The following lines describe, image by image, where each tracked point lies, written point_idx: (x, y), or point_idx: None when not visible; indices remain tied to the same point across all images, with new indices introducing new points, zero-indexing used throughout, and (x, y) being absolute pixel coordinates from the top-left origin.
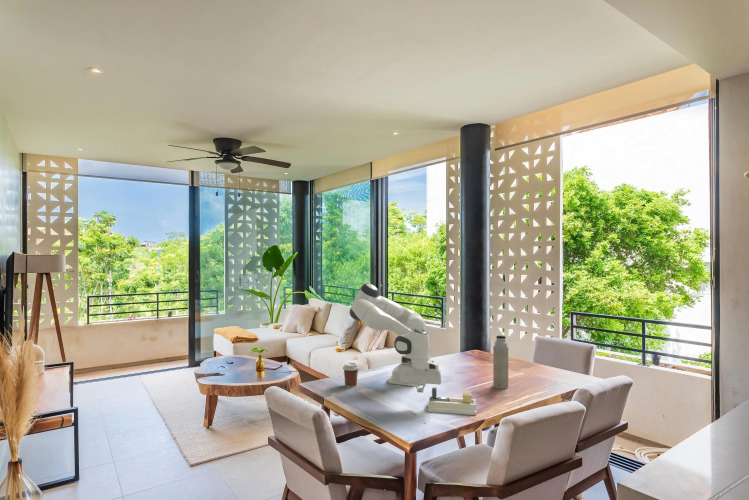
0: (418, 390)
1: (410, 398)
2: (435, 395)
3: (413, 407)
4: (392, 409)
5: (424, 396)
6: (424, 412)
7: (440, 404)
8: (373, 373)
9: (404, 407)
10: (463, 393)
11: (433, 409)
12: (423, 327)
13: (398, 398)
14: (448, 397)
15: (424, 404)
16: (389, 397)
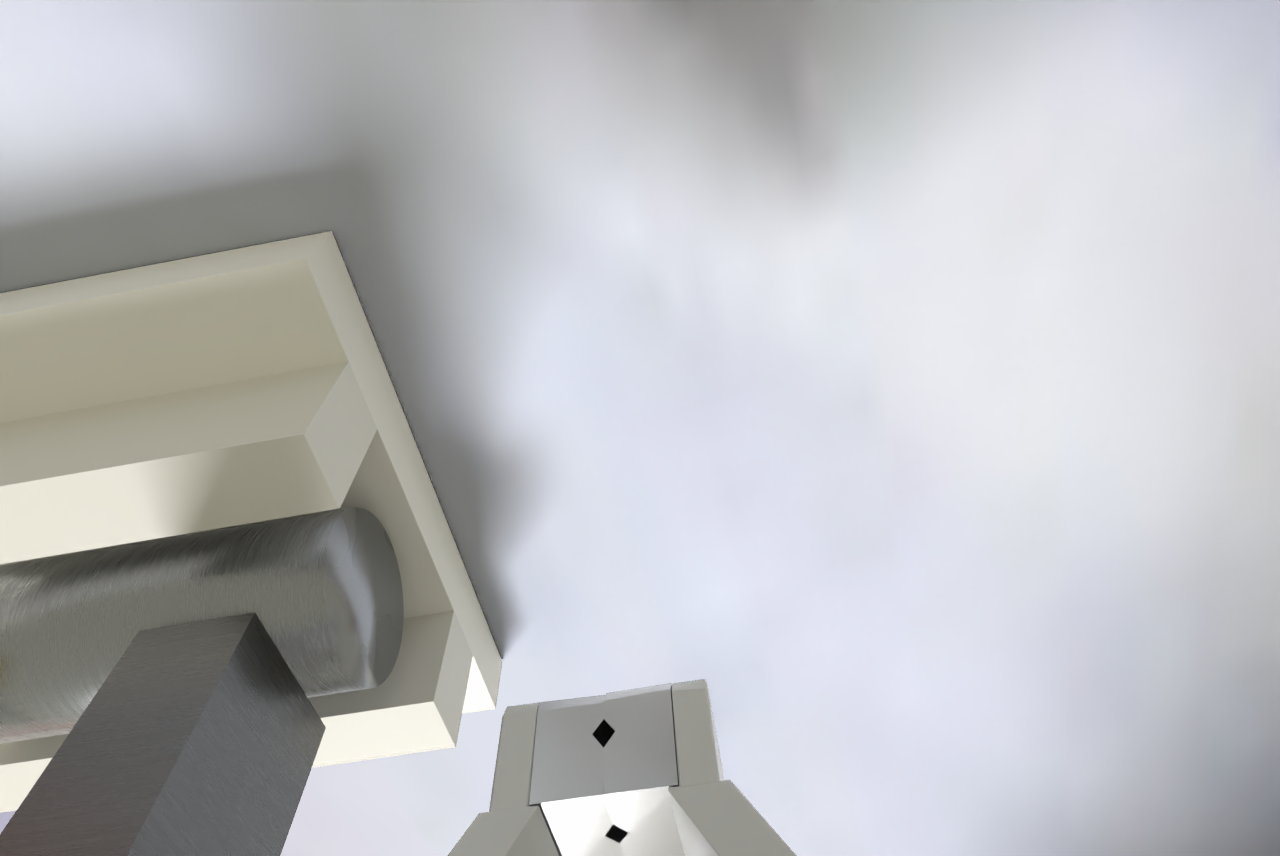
0: (662, 732)
1: (880, 727)
2: (120, 687)
3: (741, 368)
4: (1259, 40)
5: None
6: (392, 146)
7: (7, 456)
8: None
9: (944, 296)
10: None
11: (174, 275)
12: None
13: (1092, 671)
14: None
15: (571, 582)
16: (1258, 662)
